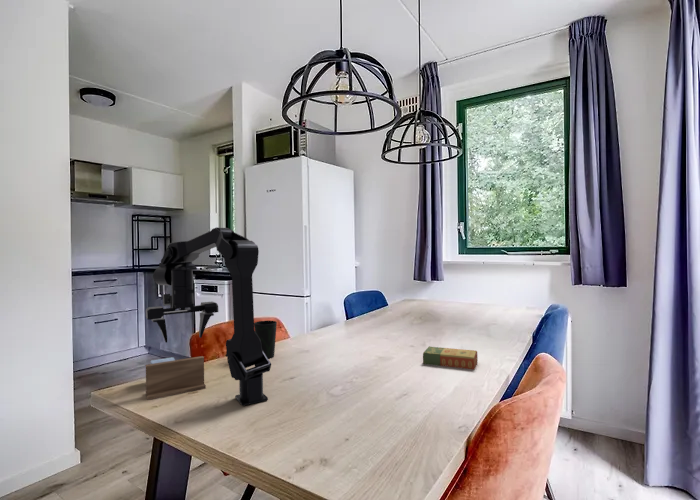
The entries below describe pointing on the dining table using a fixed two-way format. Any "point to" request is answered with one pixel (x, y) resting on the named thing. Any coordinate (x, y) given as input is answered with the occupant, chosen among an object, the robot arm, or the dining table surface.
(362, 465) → the dining table surface
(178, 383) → the wooden l bracket
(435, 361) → the carton
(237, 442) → the dining table surface
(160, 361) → the letter cube
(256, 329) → the cup
